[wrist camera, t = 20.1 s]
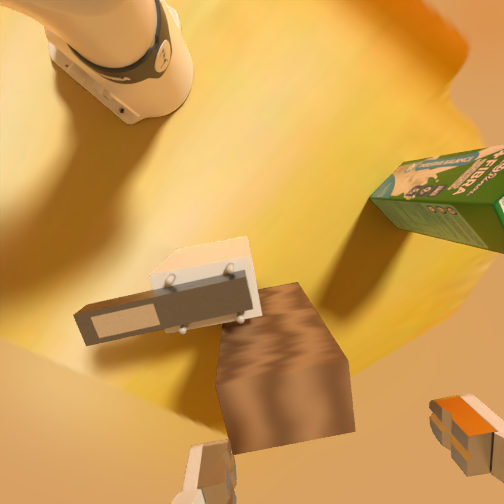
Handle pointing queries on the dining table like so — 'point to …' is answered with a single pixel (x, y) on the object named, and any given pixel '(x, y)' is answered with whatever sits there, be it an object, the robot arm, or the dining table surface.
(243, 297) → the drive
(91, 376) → the dining table surface
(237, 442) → the stand
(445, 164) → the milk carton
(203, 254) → the dock
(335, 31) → the dining table surface
